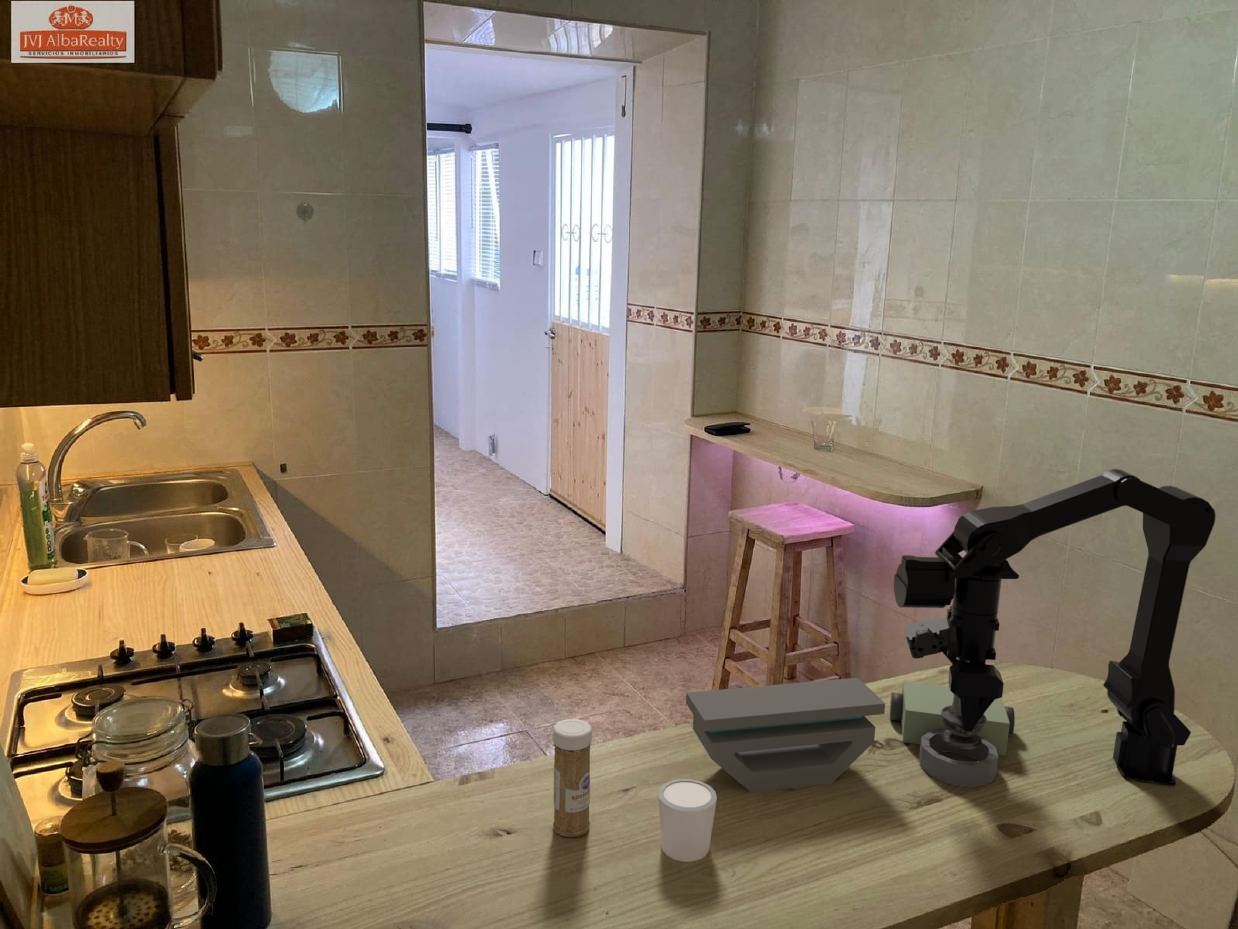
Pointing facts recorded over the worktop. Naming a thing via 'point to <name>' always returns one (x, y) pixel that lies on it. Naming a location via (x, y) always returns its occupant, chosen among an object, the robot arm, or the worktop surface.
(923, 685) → the block with end pegs
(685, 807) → the white cup
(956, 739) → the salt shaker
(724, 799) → the worktop surface
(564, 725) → the sprinkles bottle
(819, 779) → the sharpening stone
